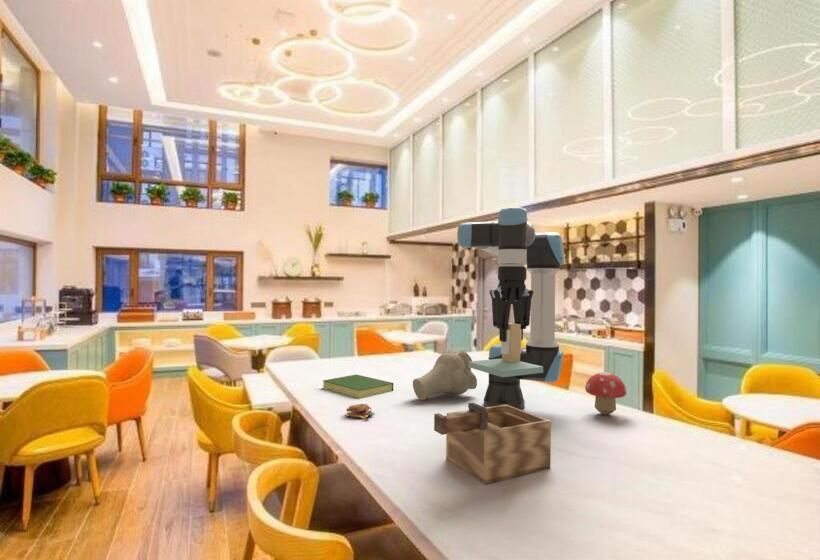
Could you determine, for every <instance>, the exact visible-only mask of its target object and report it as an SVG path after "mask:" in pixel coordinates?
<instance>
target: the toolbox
mask: <svg viewBox="0 0 820 560" xmlns="http://www.w3.org/2000/svg"><path fill="white" fill-rule="evenodd" d="M467 408H468V409H465V410H459V411H458V410H457V411H452V412H447V413H446V415H453V414H460V413H466V412H473V411H478V412H480V428H474V429H468V430H462V431H456V432H451V433H447V434H445V435H446V437H445V439H446V440H445V441H446V442H445V459H446V460H447V461H448V462H450V463H451V464H453V465H455V466H457V467H458V468H460V470H463V472H466V473H467V474H469V475H471V476H472V477H474V478H475V479H476V480H478V481H480V482H482V483H483V484H484V485H490V484H493V483H498V482H502V481H506V480H510V479H515V478H518V477H522V476H523V477H524V476H527V475H531V474H534V473H535V474H536V473H539V472H543V471H547V470H551V455H552V454H551V447H552V446H551V445H552V437H551V436H552V420H550V419H548V418H545V417H542V416H539V415H536V414H535V413H534V414H533V413H532V412H528V411H526V410H523V409H518V408H515V407H512V406H509V405H507V404H506V405H499V406H492V407H486V406H484V405H480V404H477V403H475V402H467ZM486 412H487V413H488V426H486Z"/></svg>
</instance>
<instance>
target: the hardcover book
mask: <svg viewBox="0 0 820 560" xmlns="http://www.w3.org/2000/svg"><path fill="white" fill-rule="evenodd" d="M322 382H323V385H322V386H323V387H324V388H323V389H325V388H327V389H326V390H329V389H330V390H329V391H332V390H333V392H336V391H337V392H336V393H339V392H340V394H342V395H343V394H344V395H346V396H351V397H354V398H358V399H362V398H366V396H367V397H370V396H375V395H379V393H380V394H383V393H388V392H392V391H394V382H390V381H387V380H382V379H377V378H373V377H370V376H366V375H365V376H364V375H361V374H351V375H346V376H345V375H344V376H339V377H334V378H329V379H324V380H322Z"/></svg>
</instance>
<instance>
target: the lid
mask: <svg viewBox="0 0 820 560" xmlns="http://www.w3.org/2000/svg"><path fill="white" fill-rule="evenodd" d="M507 329H508V330H510V354H509V355H507V354H503V353H502V359H491V360H489V359H481V360H472V361H468V367H469V368H471V369H473V370H476V371H477V370H478V371H480V372H484V373H487V374H489V373H490V374H493V375H497V376H500V377H509V376H518V375H527V374H536V373H543V367H542V366H538V365H534V364H530V363H525V362H521V361H520V334H521V324H516V323H515V322H508V328H507Z"/></svg>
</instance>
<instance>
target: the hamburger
mask: <svg viewBox="0 0 820 560" xmlns="http://www.w3.org/2000/svg"><path fill="white" fill-rule="evenodd" d="M345 415H346V417H348V416H349V417H351V418H352V419H353V418H354V419H362V420H363V422H366V421H368V422H369V421H370V419H369V418H368V417H369V416H374V415H375V412H373V409H372V407H370V406H369V404H367V403H359V404H357V403H356V404H351V405H349V407H348V408H347V409H346V414H345ZM365 419H366V420H365Z"/></svg>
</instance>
